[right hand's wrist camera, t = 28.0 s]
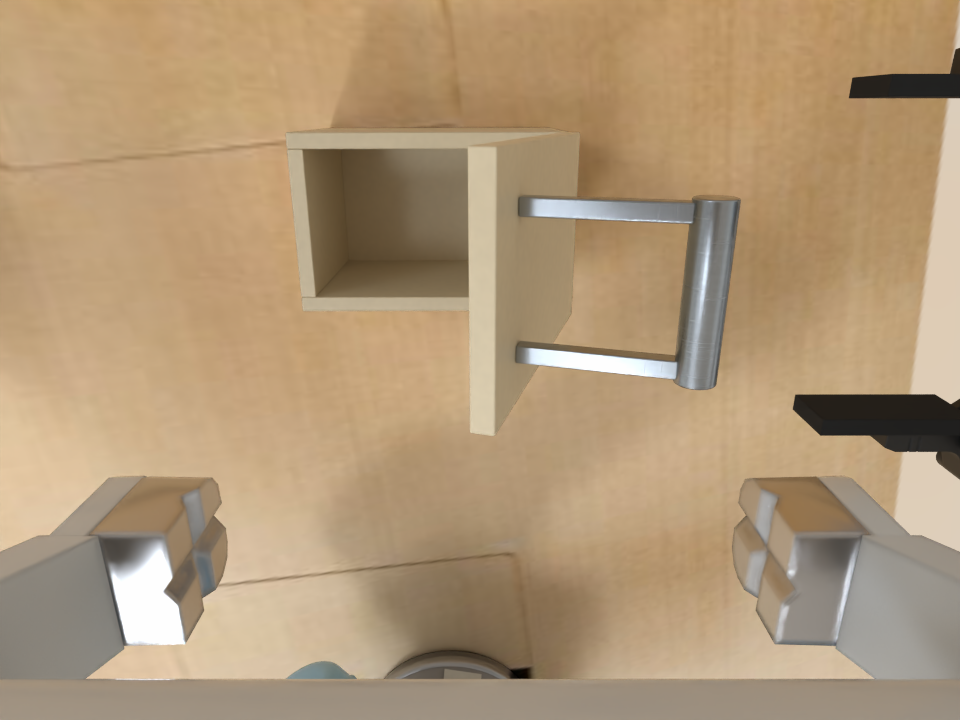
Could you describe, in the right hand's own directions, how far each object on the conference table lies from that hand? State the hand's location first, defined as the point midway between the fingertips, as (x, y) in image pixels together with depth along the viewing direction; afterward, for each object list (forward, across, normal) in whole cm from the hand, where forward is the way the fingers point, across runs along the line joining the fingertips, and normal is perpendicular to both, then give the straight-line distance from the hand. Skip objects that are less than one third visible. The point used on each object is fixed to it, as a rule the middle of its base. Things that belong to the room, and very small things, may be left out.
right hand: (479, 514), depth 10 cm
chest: (+39, -3, 0) cm, 39 cm away
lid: (+20, +2, 0) cm, 20 cm away
